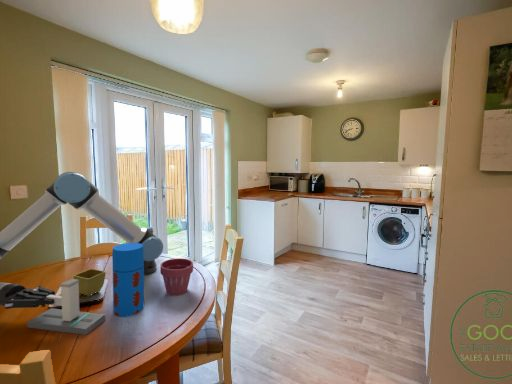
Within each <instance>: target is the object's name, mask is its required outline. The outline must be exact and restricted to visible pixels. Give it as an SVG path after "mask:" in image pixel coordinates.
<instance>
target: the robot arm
mask: <svg viewBox="0 0 512 384" xmlns="http://www.w3.org/2000/svg"><path fill="white" fill-rule="evenodd" d="M67 204H69V205H70V206H71V207H73V208H74V209H76V210H83V211H84V212H86V213H87V214H89V215H90V217H92V218H94V219H95V220H97V221H98V222H99V223H100V224H101V225H103V226H105V227H106V228H107V229H108V230H109V231H111V232H112V233H114V234H115V235H116V236H118V237H119V238H120V239H122V240H123V241H125V243H140V244H142V245H143V249H144V276H145V275H150V274H152V273H154V272H156V271H157V262H156V259H159V258H160V256H162V253H163V251H164V243H163V241H162V240H161V239H160V238H159V237H157V236H156V235H155V234H154V231H153V230H154V229H153V227H151V226H145V227H142V226H139V225H137V224H136V223H135V222H134V221H133V220H131V219H130V218H129V217H127V216H126V214H124V213H123V212H121V211H120V210H119V209H118V208H117V207H115V206H114V205H113V204H112V203H110V202H109V201H108V200H107V199H106V198H104V197H103V196H102V195H100V190H99V188H98V187H97V186H95V184H93V183H92V182H90V180H88V178H86V177H85V175H83V174H81V173H78V172H74V171H66V172H62V173H61V174H59V175H58V176H57V177H56V178H55V180H54V181H53V182H52V183H51V185H50V186H48V187H47V188H45V190H44V194H42V195H41V196H40V197H39V199H37V200H36V201H34V203H32V204H31V205H30V206H28V208H26V209H25V210H24V211H23V212H22V213H21V214H20V215H19V216H17V217H16V218H15V219H14V220H12V222H11V223H9V224H8V225H7V226H6V227H5V228H3V229H2V230H1V231H0V260H1V259H2V258H4V257H5V256H6V255H7V254H8V253H9V252H10V251H11V250H12V249H13V248H14V247H15V246H17V245H18V244H19V243H20V242H21V241H23V239H25V238H26V237H27V236H28V235H29V234H30V233H31V232H33V231H34V230H35V229H36V228H37V227H38V226H40V224H42V222H44V221H45V220H47V218H49V217H50V215H52V214H53V213H54V212H56V210H58V208H60V207H61V206H65V205H67ZM46 305H48V306H50V305H52V306H60V307H62V295H59V294H58V295H57V294H56V291H55V290H53V289H49V288H46V287H43V286H42V285H38V286H37V287H36V288H34V289H33V288H26V287H25V286H24V285H22V284H18V283H17V284H16V283H11V282H10V283H9V282H0V307H1V306H2V307H4V308H5V310H9V309H20V308H21V309H23V308H24V309H26V308H27V309H28V308H34V309H36V308H38V307H40V306H41V308H44V307H46Z"/></svg>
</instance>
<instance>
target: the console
mask: <svg viewBox="0 0 512 384" xmlns="http://www.w3.org/2000/svg"><path fill="white" fill-rule="evenodd" d="M104 321H106V314H104V313H95V312H88V311H87V312H86V311H79V316H77V317H76V318H74V319H73V320H71V321H64V320H62V308H61V309H59V308H54V307H53V308H52V307H51V308H49V309H47V310H45V311H44V312H42V313H40V314H39V315H37V316H34V318H31V319H30V320H28V321H27V323H26V325H27V328H30V329H36V330H37V329H38V330H47V331H53V332H61V333H68V334H69V333H70V334H77V335H84V336H86V335H88V334H89V333H90V332H91V331H93V330H94V329H95V328H97V327H98V326H99V325H100V324H101V323H103V322H104Z"/></svg>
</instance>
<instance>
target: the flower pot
mask: <svg viewBox="0 0 512 384" xmlns="http://www.w3.org/2000/svg"><path fill="white" fill-rule="evenodd" d="M106 273H107V272H106V271H104V270H100V269H97V268H96V269H95V268H89V269H86V270H83V271H81V272H78V273H76V274H73V279H78V280H79V294H80V293H81V294H84V295H83V296H85V295H88V296H87V297H90V296H89V295H91V294H93V293H95V292H98V291H99V292H100V291H101V290H102V288H103V286H104V284H105V280H106ZM99 292H98V293H99ZM81 294H80V295H81ZM91 296H92V295H91Z"/></svg>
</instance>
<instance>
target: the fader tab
mask: <svg viewBox="0 0 512 384" xmlns="http://www.w3.org/2000/svg"><path fill="white" fill-rule="evenodd" d="M60 287H61V288H60V289H61V291H60V292H61V293H60V294H61V295H60V296H62V306H61V309H62V320H64V321H71V320H73V319H74V318H76V317H77V316H79V312H80V293H79V280H78V279H74V278H70V279H68V280H65V281H64V282H61V283H60Z"/></svg>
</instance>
